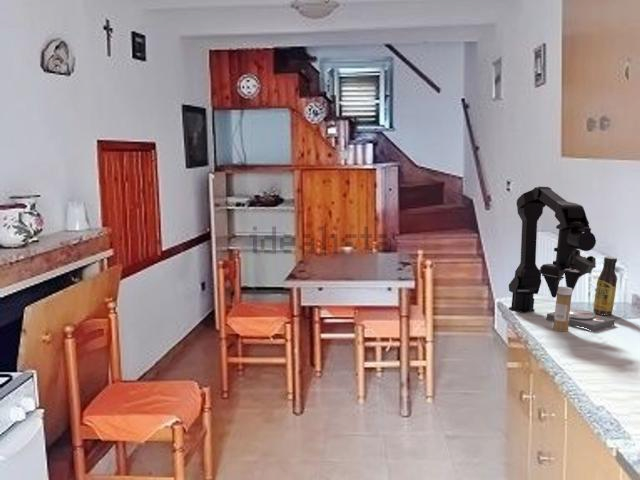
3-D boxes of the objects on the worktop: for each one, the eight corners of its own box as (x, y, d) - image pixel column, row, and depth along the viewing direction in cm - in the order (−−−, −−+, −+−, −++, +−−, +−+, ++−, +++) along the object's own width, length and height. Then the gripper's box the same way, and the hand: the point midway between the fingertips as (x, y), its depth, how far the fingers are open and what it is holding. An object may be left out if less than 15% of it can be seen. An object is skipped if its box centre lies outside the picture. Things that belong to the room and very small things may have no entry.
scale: (546, 319, 229) (547, 312, 229) (568, 314, 238) (569, 307, 238) (592, 331, 217) (593, 323, 217) (614, 325, 227) (615, 317, 226)
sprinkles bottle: (571, 331, 217) (575, 288, 215) (561, 332, 214) (566, 289, 212) (559, 327, 220) (563, 285, 218) (549, 328, 218) (553, 286, 216)
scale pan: (549, 313, 230) (549, 310, 230) (568, 309, 237) (568, 306, 237) (582, 321, 221) (582, 318, 221) (600, 316, 229) (601, 313, 228)
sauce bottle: (588, 312, 243) (595, 255, 240) (601, 311, 246) (607, 255, 243) (604, 316, 238) (610, 259, 235) (617, 315, 240) (623, 258, 238)
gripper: (575, 251, 202) (570, 304, 204) (607, 247, 214) (601, 297, 216) (541, 246, 210) (536, 296, 212) (573, 242, 222) (568, 290, 224)
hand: (561, 295), depth 216 cm, fingers open, 9 cm apart
